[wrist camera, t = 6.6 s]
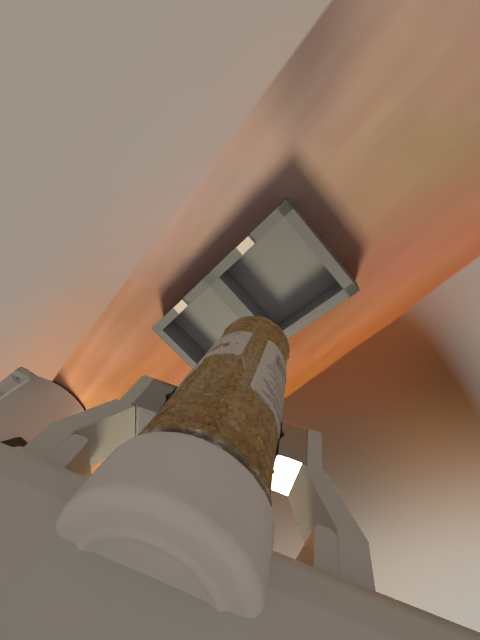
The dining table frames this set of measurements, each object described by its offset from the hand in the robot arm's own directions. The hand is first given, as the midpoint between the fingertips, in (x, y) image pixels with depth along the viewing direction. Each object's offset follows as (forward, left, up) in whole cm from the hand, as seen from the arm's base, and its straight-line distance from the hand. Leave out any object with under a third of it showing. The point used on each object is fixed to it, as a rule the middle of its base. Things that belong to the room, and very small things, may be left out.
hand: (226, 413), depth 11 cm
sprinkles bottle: (-1, -1, -7) cm, 7 cm away
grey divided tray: (-5, -2, -21) cm, 21 cm away
